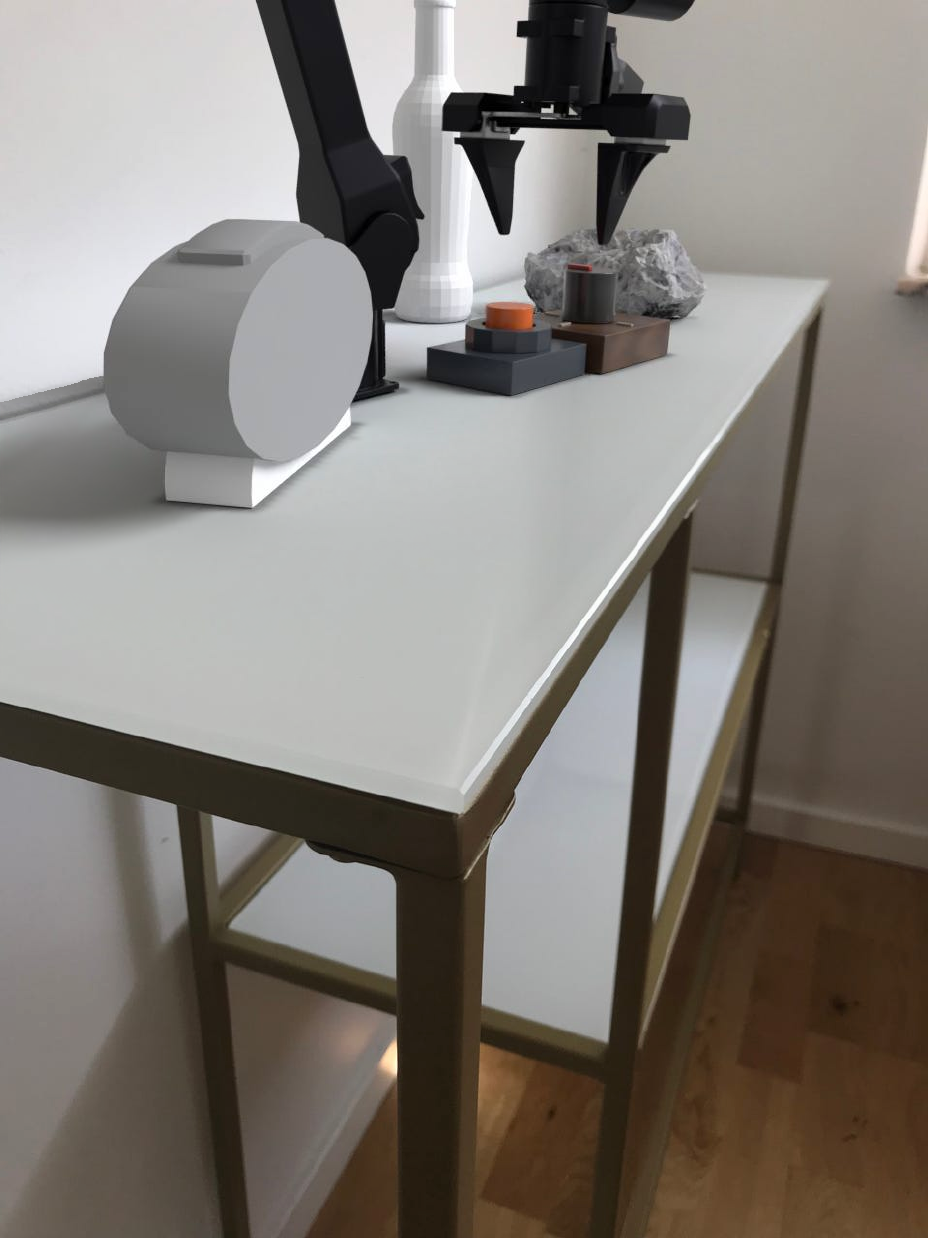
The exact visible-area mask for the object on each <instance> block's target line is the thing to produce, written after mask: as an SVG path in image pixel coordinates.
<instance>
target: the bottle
mask: <svg viewBox="0 0 928 1238" xmlns="http://www.w3.org/2000/svg"><path fill="white" fill-rule="evenodd" d="M456 7H457V1H456V0H413V8H414V9H415V20H414V22H415V23H414V24H415V25H414V26H415V27H414V66H413V67H414V71H413V78H412V80H411V82H410V83H409V85H408V86H407V88H406V89H405V90H404V91H403V93H402V95H401V97H400V98H399V100H398V101H397V103H396V106H395V110H394V112H393V116H392V117H393V118H392V124H391V125H392V126H391V127H392V128H391V132H392V133H391V135H392V137H391V139H392V155H397V156H406V157H407V159H408V161H409V164H410V167H411V171H412V181H413V189H414V195H415V198H416V201H417V203H418V206H419V207H420V209H421V211H422V212H423V214H424V215H425V218H424V219H423V220H420V219H416V220H417V223H418V228H419V238H420V241H419V249H418V251H417V252H416V253H415V255H414V257H413V260H412V262H411V264H410V266H409V267H408V268H407V270H406V271H405V273H404V277H403V280H402V284H401V287H400V290H399V294H398V297H397V301H396V304H395V307H394V308H393V309H394V313H395V315H396V316H397V318H399V319H401V320H403V321H405V322H411V323H420V324H449V323H451V324H452V323H458V322H462V321H464V320H466V319H467V318H468V317H469V316H470V314H471V310H472V306H473V303H474V301H473V299H474V281H473V277H472V275H471V273H470V269H469V262H468V239H469V229H470V228H469V227H470V216H471V215H470V212H471V201H472V199H471V198H472V189H473V176H474V175H473V173H474V170H473V168H472V166H471V164H470V161H469V159H468V157H467V155H466V153H465V151H464V149H463V147H462V146H461V145H457V144H454V137H460V132H448V131H441V127H442V107H443V104H444V103H445V101H446V99H447V98H448V96H449V94H450V93H451V92H464V91H463V90H462V89H461V87H460V85H459V84H458V82H457V80H456V77H455V9H456Z"/></svg>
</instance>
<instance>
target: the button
mask: <svg viewBox="0 0 928 1238" xmlns="http://www.w3.org/2000/svg"><path fill="white" fill-rule="evenodd" d="M533 315H534V305H532V304H530V303H525V302H519V301H518V302H517V301H495V302H490V303H486V305H485V318H486V320H485V326H486V327H493V328H500V329H527V328H532V325H533Z"/></svg>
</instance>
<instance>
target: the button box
mask: <svg viewBox="0 0 928 1238" xmlns="http://www.w3.org/2000/svg"><path fill="white" fill-rule="evenodd" d="M485 320H486V317H480V318H475V319H470V320H467V322H465V326H464V331H465V332H464V339H461V340H456V341H450V342H446V343H442V344H436V345H432V346H427V347H426V380H428V381H429V380H430V381H435V382H440V383H446V384H451V385H456V386H460V387H466V388H470V389H476V390H479V391H480V390H481V391H487V392H490V393H496V394H501V395H505V396H506V395H507V396H514V395H518V394H521V393H525V392H529V391H531V390H535V389H539V388H542V387H545V386H549V385H553V384H556V383H559V382H563V381H566V380H569V379H573V378H575V377H580V376H583V375H585V372H586V371H585V358H586V344H585V343H578V342H572V341H565V340H559V339H552V338H551V337H552V324H549V323H546V322H544V321H540V320H533V325H532V328H527V329H500V328H493V327H486V326H485Z"/></svg>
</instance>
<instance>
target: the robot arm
mask: <svg viewBox="0 0 928 1238" xmlns="http://www.w3.org/2000/svg"><path fill="white" fill-rule="evenodd" d="M695 1H696V0H528V10H527V20H516V21H517V22H516V38H521V39H525V40H526V44H525V45H526V46H525V62H524V63H525V64H524V79H523V80H524V83H523V85H513V93H512V94H506V93H505V94H504V93H493V92H486V91H485V92H482V91H481V92H478V91H475V92H474V91H472V92H471V91H469V92H467V91H463V92H451V93H450V94H449V96H448V98H447V99H446V101H445V103H444V104H443V107H442V127H441V131H448V132H460V137H454V144H457V145H461V146H462V147H463V149H464V151H465V153H466V155H467V157H468V159H469V161H470V164H471V166H472V168H473V173H474V174H475V176H476V178H477V181H478V183H479V186H480V188H481V191H482V193H483V195H484V199H485V201H486V204H487V207H488V209H489V212H490V215H491V217H492V220H493V223H494V225H495V228H496V230H497V233H498V235H499V236H509V235H510V234H511V229H512V224H513V218H514V217H513V216H514V200H515V199H514V198H515V197H514V196H515V179H516V177H515V175H516V163H517V160H518V158H519V156H520V154H521V152H522V150H523V147H524V145H525V143H526V140H523V139H511V135H514V136H515V135H517V133H519V131H520V129H542V130H543V129H545V130H546V129H549V130H577V131H578V130H580V131H581V130H582V131H583V130H584V131H607V134H608V135H609V136H610V137H611V138H613V142H597V152H596V153H597V156H596V157H597V158H596V203H595V204H596V208H595V228H596V230H597V241H598V244H599V245H608V244H609V242H610V240H611V238H612V235H613V233H614V231H615V230H617V229H616V228H617V226H618V224H619V222H620V219H621V217H622V214H623V213H624V210H625V207H626V205H627V203H628V200H629V198H630V196H631V194H632V192H633V189H634V188H635V185H636V184H637V182H638V180H639V179H640V176H641V175H642V173H643V172H644V170H645V169H646V168H647V166H648V165H649V164H651V162H652V161H653V160H654V159H655V158H656V157H657V156H658V155H659V154H668V153H669V151H670V149H671V145H666V144H667V141H689V134H690V125H691V117H692V115H691V111H690V107H689V104H688V103H687V101H686V99H685V97H684V96H678V95H677V96H676V95H669V94H662V93H661V94H660V93H644V92H643V88H644V85H645V82H644V80H643V78H642V77H641V76H640V75H639V74H638V73H637V72H636V71H635V70H634V69H633V68H632V67H631V66H630V64H629V63H628V62H626V61H625V60H623V59H621V58H619V56H618V50H617V45H618V36H617V27H615V26H610V25H608V19H609V14H612V15H618V16H626V17H631V18H632V17H633V18H641V19H649V20H655V21H662V22H675V21H677V20H679V19H680V18H682V17H684V15H686V14H687V13H688V12H689V10H690V9H691V8H692V7H693V4H694V3H695ZM255 4H256V7H257V10H258V14H259V16H260V21H261V23H262V27H263V30H264V34H265V37H266V40H267V44H268V47H269V51H270V54H271V57H272V61H273V64H274V68H275V71H276V74H277V78H278V80H279V84H280V87H281V91H282V95H283V99H284V101H285V104H286V108H287V111H288V115H289V119H290V121H291V125H292V129H293V133H294V135H295V136H294V137H295V139H296V142H297V147H298V165H297V177H296V188H295V198H296V199H295V200H296V207H297V213H298V218H299V220H300V222H301V223H304V224H307V225H309V226H311V227H313V228H314V229H316V230H317V231H319V232H320V233H322V234H323V235H324V238H328V239H331V240H334V241H336V242H339V243H342V244H344V245H345V246H346V247H347V248H348V249H349V250H350V251H351V252H352V253H353V254H354V255H356V257H357V259H358V260H359V262H360V264H361V266H362V268H363V269H364V271H365V273H366V277H367V280H368V284H369V288H370V291H371V299H372V310H373V323H372V339H371V344H370V349H369V355H368V360H367V364H366V367H365V370H364V373H363V376H362V379H361V382H360V385H359V388H358V390H357V392H356V394H355V396H354V398H353V400H352V402H353V401H356V400H360V399H364V398H369V397H372V396H377V395H381V394H384V393H388V392H392V391H393V392H394V391H396V390H397V391H398V390H399V389H400V382H399V381H397V380H391V379H390V380H389V379H386V378H385V377H386V373H387V372H386V370H387V369H386V368H387V367H386V365H387V364H386V363H387V362H386V322H385V320H384V319H383V318H384V316H383V315H384V314H383V310H392V309H394V307H395V304H396V301H397V297H398V294H399V290H400V287H401V284H402V280H403V277H404V273H405V271H406V270H407V268H408V267H409V266H410V264H411V262H412V260H413V257H414V255H415V253H416V252H417V251H418V249H419V241H420V238H419V228H418V223H417V220H416V219H420V220H423V219H424V218H425V215H424V214H423V212H422V211H421V209H420V207H419V206H418V203H417V201H416V198H415V195H414V189H413V181H412V171H411V167H410V164H409V161H408V159H407V157H406V156H397V155H393V154H384V153H383V152H382V151H381V149H380V147H378V145H377V143H376V141H374V139H373V137H372V135H371V132H370V131H369V128H368V124H367V121H366V116H365V113H364V108H363V104H362V101H361V97H360V93H359V89H358V86H357V81H356V77H355V74H354V73H355V72H354V69H353V66H352V62H351V58H350V54H349V51H348V47H347V43H346V39H345V35H344V31H343V27H342V24H341V20H340V14H339V12H338V8H337V4H336V0H255ZM642 92H643V93H642ZM552 106H553V107H552ZM542 109H548V110H550V109H552V112H542ZM570 109H571V110H572V111H573V112H574V113H575V114H570Z"/></svg>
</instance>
